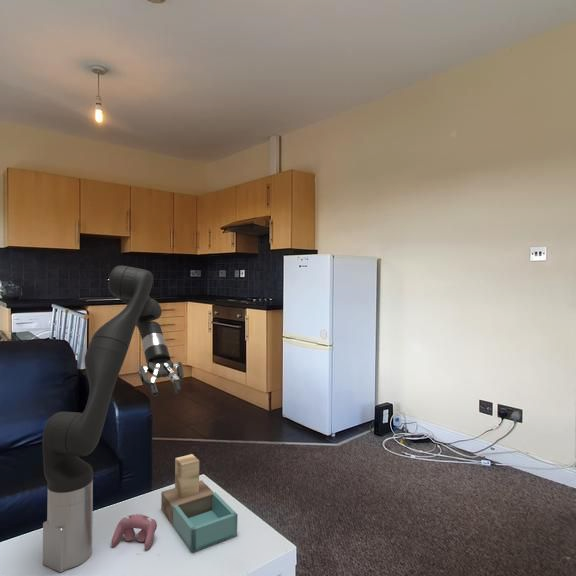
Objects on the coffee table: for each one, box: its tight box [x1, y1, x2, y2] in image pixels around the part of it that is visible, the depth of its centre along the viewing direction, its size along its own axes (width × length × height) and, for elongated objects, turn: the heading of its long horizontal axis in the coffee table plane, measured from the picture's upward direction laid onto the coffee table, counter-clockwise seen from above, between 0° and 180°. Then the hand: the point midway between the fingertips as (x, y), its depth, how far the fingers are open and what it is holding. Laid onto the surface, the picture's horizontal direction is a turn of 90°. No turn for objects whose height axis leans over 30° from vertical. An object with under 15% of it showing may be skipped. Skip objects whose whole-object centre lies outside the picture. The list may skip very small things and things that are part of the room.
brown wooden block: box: [160, 480, 215, 527], centre depth 115 cm, size 9×12×5 cm
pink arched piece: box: [110, 514, 158, 551], centre depth 102 cm, size 10×5×7 cm, turn 85°
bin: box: [172, 491, 238, 554], centre depth 106 cm, size 13×12×6 cm
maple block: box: [174, 453, 200, 498], centre depth 116 cm, size 5×5×9 cm
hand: (167, 393), depth 129 cm, fingers open, 6 cm apart
